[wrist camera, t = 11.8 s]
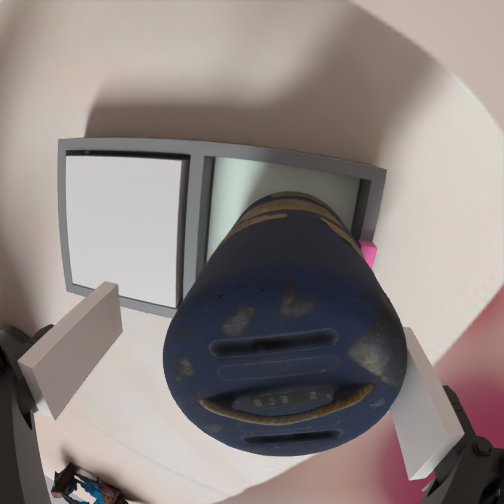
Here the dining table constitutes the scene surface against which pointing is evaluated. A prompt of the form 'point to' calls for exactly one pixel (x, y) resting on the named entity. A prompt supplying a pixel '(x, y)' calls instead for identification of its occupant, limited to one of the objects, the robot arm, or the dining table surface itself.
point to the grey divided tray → (184, 208)
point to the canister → (285, 335)
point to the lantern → (66, 484)
